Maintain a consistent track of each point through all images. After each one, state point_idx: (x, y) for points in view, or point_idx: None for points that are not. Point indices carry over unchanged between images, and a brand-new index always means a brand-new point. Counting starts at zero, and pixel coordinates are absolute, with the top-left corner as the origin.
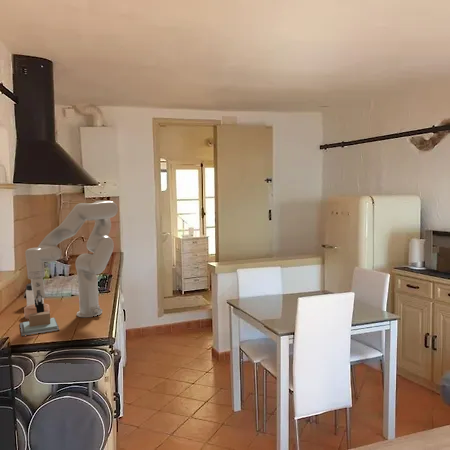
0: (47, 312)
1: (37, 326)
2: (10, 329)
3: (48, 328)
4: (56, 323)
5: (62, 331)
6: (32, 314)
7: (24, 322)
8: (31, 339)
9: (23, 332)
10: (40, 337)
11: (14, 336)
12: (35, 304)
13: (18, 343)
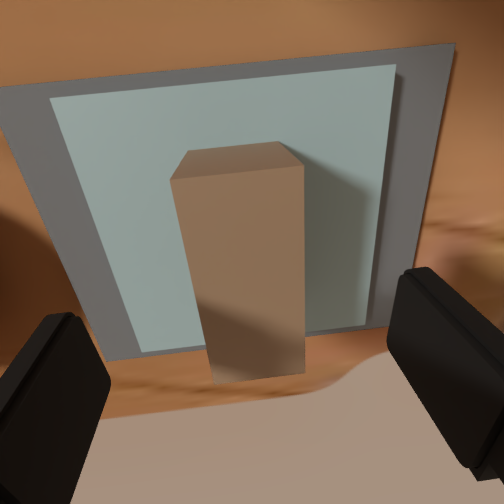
0: (229, 199)
1: (307, 252)
2: (209, 384)
3: (380, 157)
4: (219, 70)
5: (481, 9)
6: (246, 354)
7: (152, 344)
8: (488, 264)
9: None
10: (494, 211)
11: (359, 352)
12: (95, 424)
13: (500, 322)
